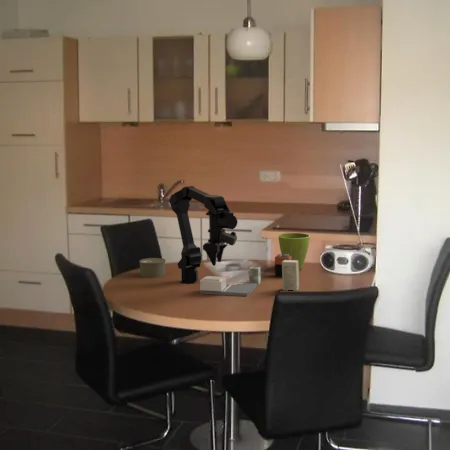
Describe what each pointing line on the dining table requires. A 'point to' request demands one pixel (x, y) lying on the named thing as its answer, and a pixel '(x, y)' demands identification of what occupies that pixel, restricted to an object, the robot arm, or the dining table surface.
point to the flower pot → (294, 246)
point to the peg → (254, 275)
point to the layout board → (234, 289)
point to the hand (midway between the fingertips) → (216, 263)
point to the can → (152, 267)
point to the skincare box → (290, 275)
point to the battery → (280, 263)
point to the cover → (213, 283)
